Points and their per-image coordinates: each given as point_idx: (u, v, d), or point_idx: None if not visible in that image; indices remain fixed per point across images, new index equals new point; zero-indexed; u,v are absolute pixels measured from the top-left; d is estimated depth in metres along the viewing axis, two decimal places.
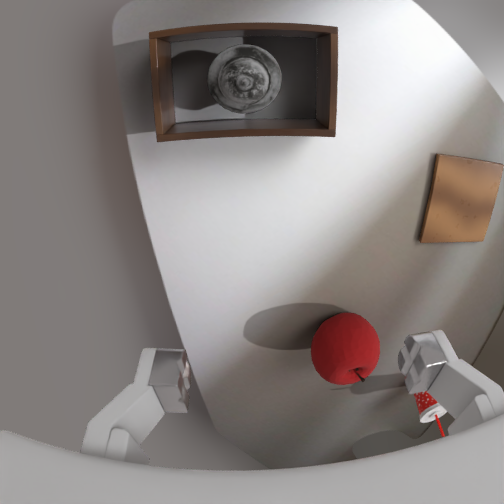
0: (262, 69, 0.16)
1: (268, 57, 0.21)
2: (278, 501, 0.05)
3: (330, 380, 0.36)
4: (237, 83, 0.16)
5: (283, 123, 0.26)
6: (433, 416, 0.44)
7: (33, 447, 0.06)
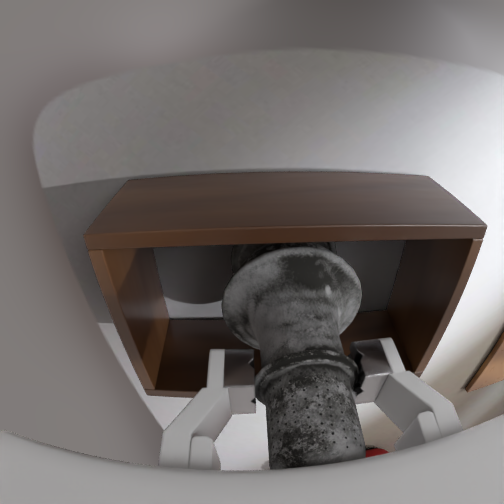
0: (361, 455, 0.07)
1: (345, 274, 0.12)
2: (278, 501, 0.05)
3: None
4: None
5: (345, 346, 0.16)
6: None
7: (32, 446, 0.06)
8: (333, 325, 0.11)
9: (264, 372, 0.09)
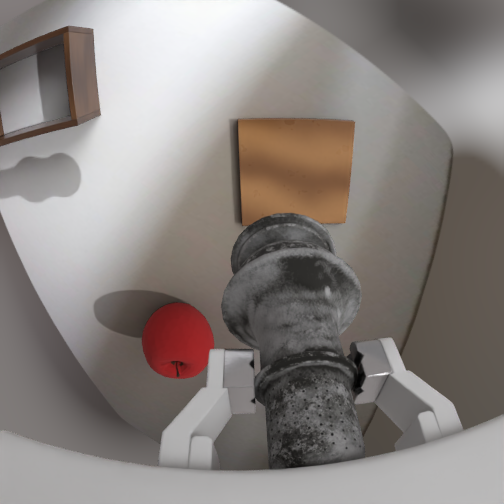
0: (360, 455, 0.07)
1: (344, 275, 0.12)
2: (278, 501, 0.05)
3: (155, 371, 0.35)
4: None
5: (55, 121, 0.24)
6: None
7: (32, 446, 0.06)
8: (333, 326, 0.11)
9: (264, 373, 0.09)
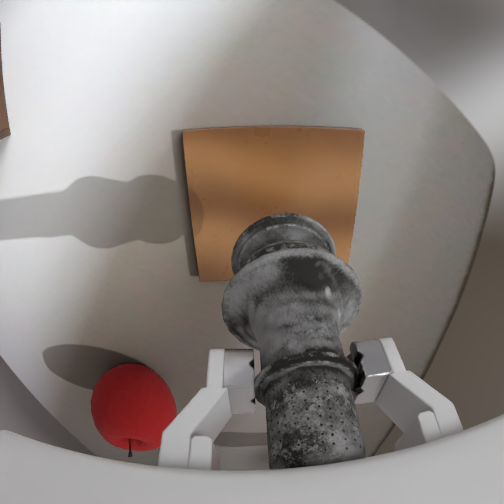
0: (360, 456, 0.07)
1: (345, 275, 0.12)
2: (278, 501, 0.05)
3: (108, 441, 0.25)
4: None
5: None
6: None
7: (32, 446, 0.06)
8: (333, 326, 0.11)
9: (264, 373, 0.09)
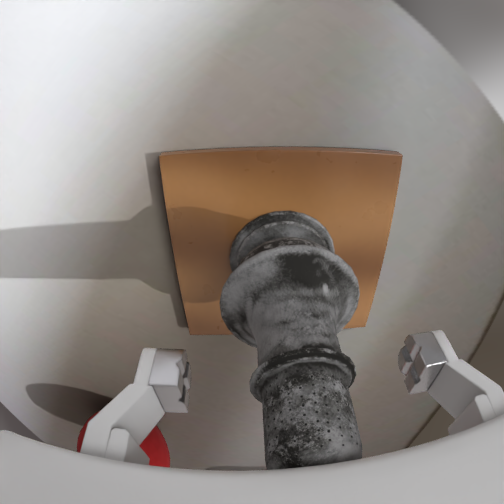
0: (357, 453, 0.07)
1: (343, 273, 0.12)
2: (278, 501, 0.05)
3: None
4: None
5: None
6: None
7: (33, 447, 0.06)
8: (330, 323, 0.11)
9: (261, 370, 0.09)
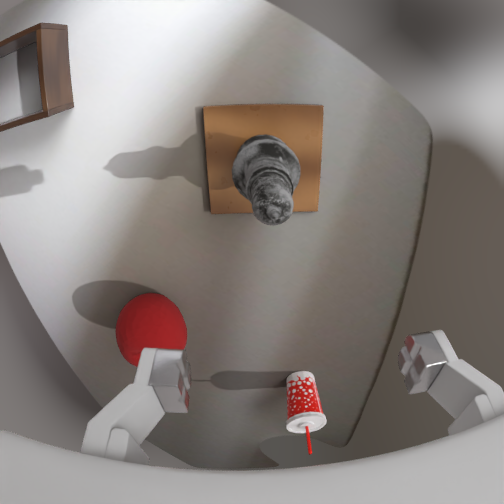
0: (289, 196, 0.21)
1: (289, 153, 0.26)
2: (278, 501, 0.05)
3: (128, 361, 0.34)
4: (267, 213, 0.20)
5: (31, 114, 0.23)
6: (304, 427, 0.42)
7: (32, 447, 0.06)
8: (282, 169, 0.25)
9: (250, 177, 0.23)
